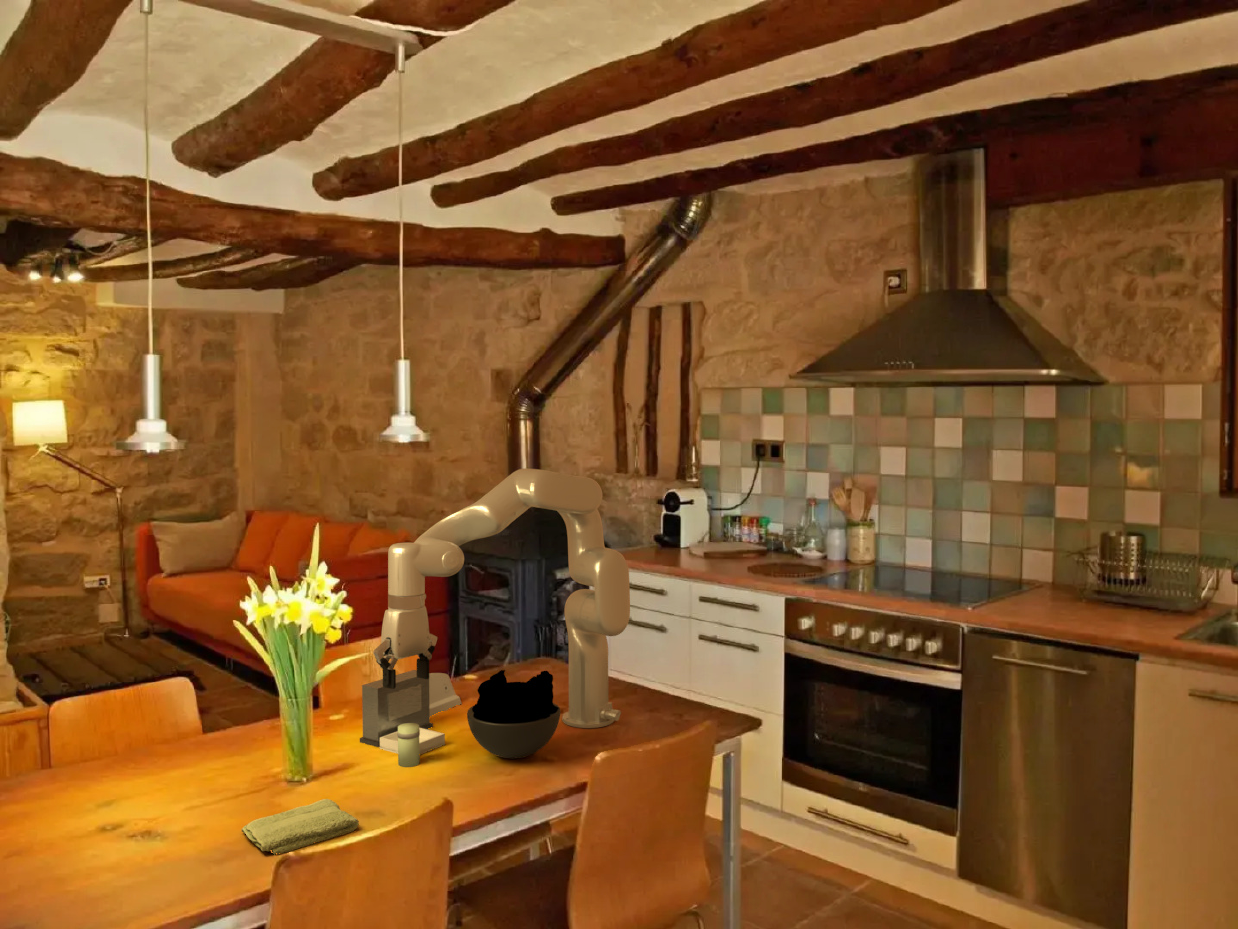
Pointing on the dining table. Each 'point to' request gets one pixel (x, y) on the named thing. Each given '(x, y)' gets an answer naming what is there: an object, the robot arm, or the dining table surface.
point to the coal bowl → (514, 715)
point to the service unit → (394, 706)
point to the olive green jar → (408, 744)
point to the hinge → (441, 693)
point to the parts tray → (426, 741)
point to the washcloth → (300, 827)
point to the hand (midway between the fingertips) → (406, 682)
